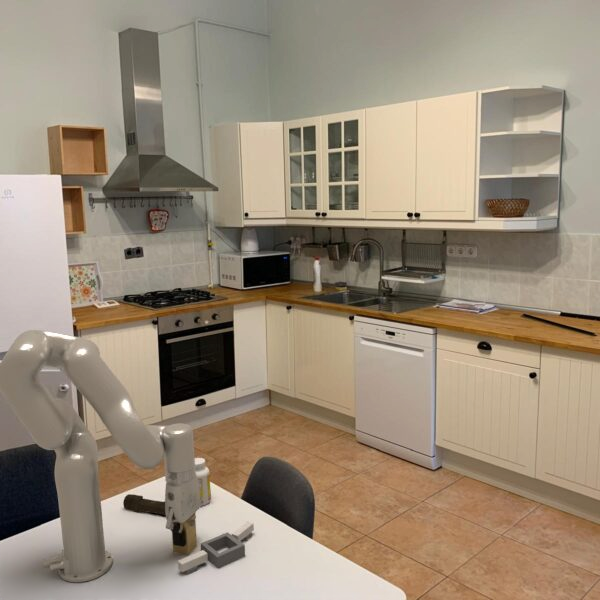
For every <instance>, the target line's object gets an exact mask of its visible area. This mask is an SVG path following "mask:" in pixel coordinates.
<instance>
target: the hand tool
mask: <svg viewBox="0 0 600 600" xmlns="http://www.w3.org/2000/svg"><path fill="white" fill-rule="evenodd" d="M122 505H123V508H124V509H126V510H128V511H131V512H136V513H140V512H146V513H150V514H152V513H154V514H159V515H164V516H166V513H165V500H164V501H162V500H154V499H148V498H144V496H143V495H137V494H129V493H128V494H126V495H125V497H124V499H123V502H122Z"/></svg>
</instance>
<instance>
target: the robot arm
mask: <svg viewBox="0 0 600 600" xmlns="http://www.w3.org/2000/svg"><path fill="white" fill-rule="evenodd" d="M100 353H101V352H100V349H99V347H98V345H97V344H96V343H95V342H94V341H92V340H91V339H88V338H85V337H79V336H75V335H74V336H73V335H68V334H63V333H57V332H52V331H48V330H47V331H46V330H42V329H31V330H26V331H23V332H21V334H19V335H18V336H17V337H16V339H14V341H13V343H12V344H11V346H10V347H9V348H8V350H7V352H6V353H5V354H4V357H3V358H2V360H1V362H0V392H1V395H2V397H3V398H4V400H6V403H8V405H9V406H10V408H11V410H12V411H13V412H14V414H15V416H16V417H17V418H18V420H19V421H20V422H21V424H22V425H23V427H24V428H25V430H26V431H27V432H28V434H29V435H30V437H31V438H32V440H33V441H34V443H35V444H36V445H37V446H39V447H40V448H42V449H44V450H47V451H54V452H55V453H56V457H55V463H54V464H55V465H54V482H55V487H56V492H57V499H58V510H59V518H60V526H61V527H60V528H61V537H62V540H61V541H62V548H63V549H61V554H58V555H57V556H55V557H49V558H45V559H44V568H45V569H47V568H49V569H50V571H51V572H52V571H56V570H58V575H59V577H60V578H61V579H62V580H64V581H67V582H70V583H71V582H72V583H82V582H87V581H92V580H94V579H98V578H99V577H101V576H103V575H104V574H106V573H107V572H108V571H109V570H110V569H111V568H112V565H113V563H114V562H113V560H114V559H113V554H111V553H110V552H109V551H108V550H106V545H105V534H104V533H105V532H104V523H103V512H102V511H103V510H102V503H101V502H102V501H101V491H100V480H99V466H98V465H99V464H98V463H99V460H98V459H99V453H98V452H99V449H98V444H97V441H96V439H95V438H94V435H93V434H92V432H90V430H89V428H88V427H87V425H86V424H85V422H84V421H83V420H82V418H81V417H80V415H79V414H78V411H76V410H75V408H74V407H73V406H72V405H71V404H70V403H69V402H68V401H66V400H65V399H62V398H59V397H58V398H57V397H53V396H52V395H51V393H50V391H49V389H48V388H47V387H46V386H45V385H44V383H43V382H42V380H40V373H41V371H42V370H43V368H44V367H45V366H46V367H52V368H58V369H62V372H64V374H65V376H66V377H67V378H68V379H69V380H70V382H71V383H72V385H74V387H75V388H76V389H77V391H79V393H80V394H81V395H82V397H83V398H84V399H85V400H86V401H87V402H88V403H89V405H90V406H91V408H93V410H94V411H95V413H96V414H97V415H98V417H99V418H100V420H101V422H102V424H104V426H105V427H106V429H107V431H108V432H109V433H110V435H111V436H112V438H113V440H114V441H115V442H116V444H117V445H118V447H119V448H120V449H121V450H122V452H123V453H124V454H125V455H126V456H127V457H128V459H129V460H130V461H131V463H133V464H134V465H135V466H137V467H138V468H139V469H144V470H152V469H155V468H157V467H158V466H159V465H160V464H161V463H162V462H163V463H164V464H163V465H164V477H165V479H164V480H165V489H164V501H165V513H166V515H165V518H166V522H165V523H166V524H165V529H166V530H169V531H170V532H171V535H172V534H173V542H172V545H173V544H174V545H177V546H182V547H184V546H185V534H184V531H183V523H184V522H186V521H187V520H188V519H189V518H190V517H191V516H192V515H193V514H195V520H196V519H197V516H196V513H197V512H198V510H200V508H201V507H202V506H201V498H200V489H199V482H198V478H197V475H196V473H195V458H196V457H195V442H194V429H193V428H192V426H191V425H189V424H187V423H180V422H179V423H172V424H170V425H153V424H148V425H147V424H145V423H144V421H143V420H142V419H141V417H140V415H139V414H138V412H137V410H136V408H135V406H134V403H133V400H132V397H131V395H130V394H129V391H128V390H127V389H126V387H125V386H124V385H123V383H122V382H121V381H120V380H119V379H118V377H117V376H116V375H115V374H114V372H113V371H112V370H111V369H110V367H109V365H107V364H106V362H105V361H104V359H103V358H102V357H101V354H100ZM175 522H177V523H179V527H178V526H177V525H175Z"/></svg>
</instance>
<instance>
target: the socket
mask: <svg viewBox="0 0 600 600" xmlns="http://www.w3.org/2000/svg"><path fill="white" fill-rule="evenodd" d="M254 527H255V526H254V522H250V521H246V522H244V524H242V525H241V526H240V527H239V528H237V529H235V531H233V532H232V533H229V532H225V533H222V534H220V535H218V536H215V537H212V538H211V539H208V540H206V541H203V542H201V543H200V551H197V552H196V553H192V554H191V555H190V554H189V555H187V556H186V557H183V558H181V559H178V560H177V566H178V567H177V568H178V570H179V571H181V573H183V572H184V573H185V574H186V575H190V574H193V573H194V572H197V571H198V566H200V565H202V564H204V563H207V562H210V564H212V565H213V566H214V567H215V568H217V569H220V568H222V567H224V566H227V565H228V564H231V563H233V562H235V561H237V560H240V559H242V558H244V557H246V545H245V544H244V543H242V540H243V541H246V542H247V541H248V540H249V539H251V538H252V537H253V532H254V531H255V530H254V529H255V528H254ZM224 548H228V549H225V550H223V551H220V550H221V549H224ZM218 551H220V552H218Z"/></svg>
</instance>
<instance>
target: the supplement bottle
mask: <svg viewBox="0 0 600 600" xmlns="http://www.w3.org/2000/svg"><path fill="white" fill-rule="evenodd" d="M195 473H196V475H197V478H198V482H199V489H200V498H201V506H200V507H203V506H206V505H209V503H210V502H211V500H212V490H211V475H210V469H209V467H207V466H206V459H205V458H202V457H195Z"/></svg>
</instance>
